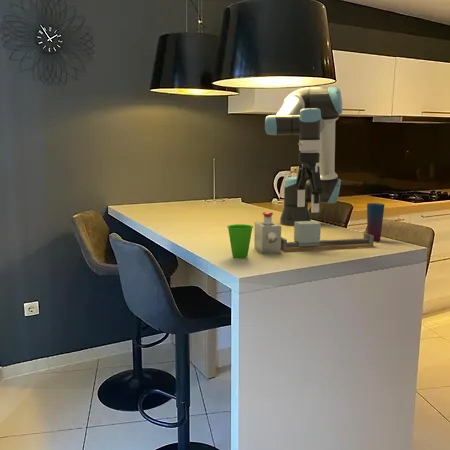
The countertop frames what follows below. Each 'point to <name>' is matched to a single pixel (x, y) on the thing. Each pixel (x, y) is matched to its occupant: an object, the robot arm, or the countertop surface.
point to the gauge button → (267, 218)
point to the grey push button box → (267, 238)
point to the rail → (306, 248)
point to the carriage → (307, 233)
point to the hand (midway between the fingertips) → (307, 209)
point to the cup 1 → (240, 239)
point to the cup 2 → (375, 219)
